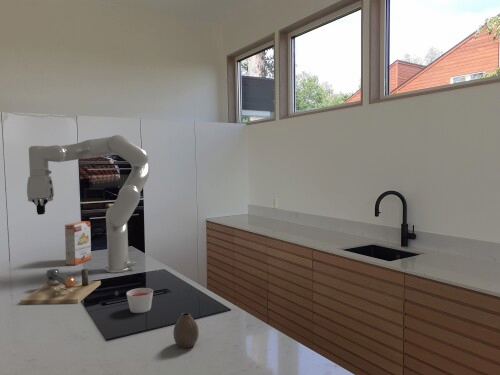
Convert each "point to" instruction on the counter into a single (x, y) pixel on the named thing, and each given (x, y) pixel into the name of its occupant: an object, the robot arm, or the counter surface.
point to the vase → (185, 331)
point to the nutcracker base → (62, 291)
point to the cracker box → (77, 242)
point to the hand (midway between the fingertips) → (41, 214)
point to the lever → (60, 278)
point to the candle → (140, 299)
